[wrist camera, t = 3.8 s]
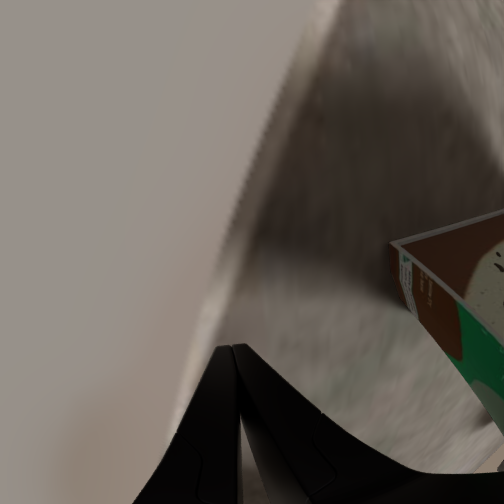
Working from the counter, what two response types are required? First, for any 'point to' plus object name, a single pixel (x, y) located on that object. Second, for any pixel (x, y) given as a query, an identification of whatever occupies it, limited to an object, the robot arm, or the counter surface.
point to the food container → (460, 298)
